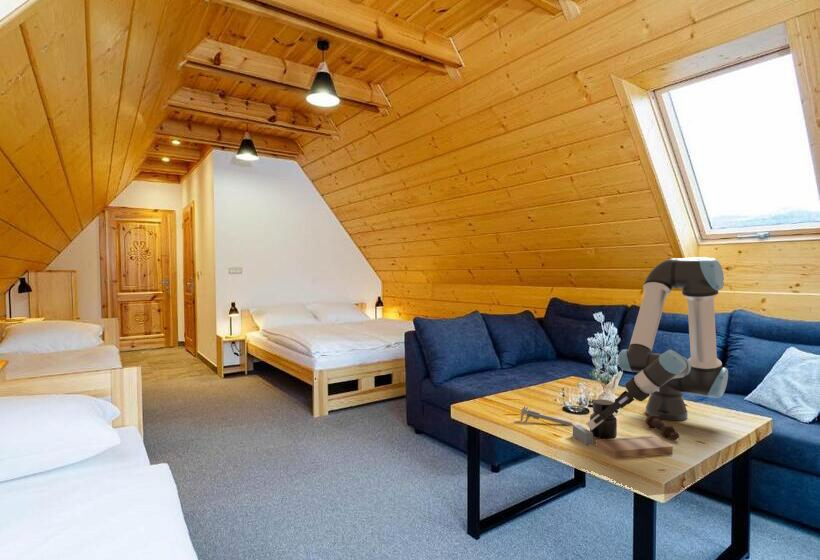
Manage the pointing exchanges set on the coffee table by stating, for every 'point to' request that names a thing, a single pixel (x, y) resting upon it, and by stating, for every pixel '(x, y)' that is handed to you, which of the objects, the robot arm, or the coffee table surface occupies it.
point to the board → (634, 447)
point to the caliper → (537, 415)
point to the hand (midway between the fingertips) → (593, 423)
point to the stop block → (583, 434)
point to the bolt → (662, 427)
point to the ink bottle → (607, 426)
